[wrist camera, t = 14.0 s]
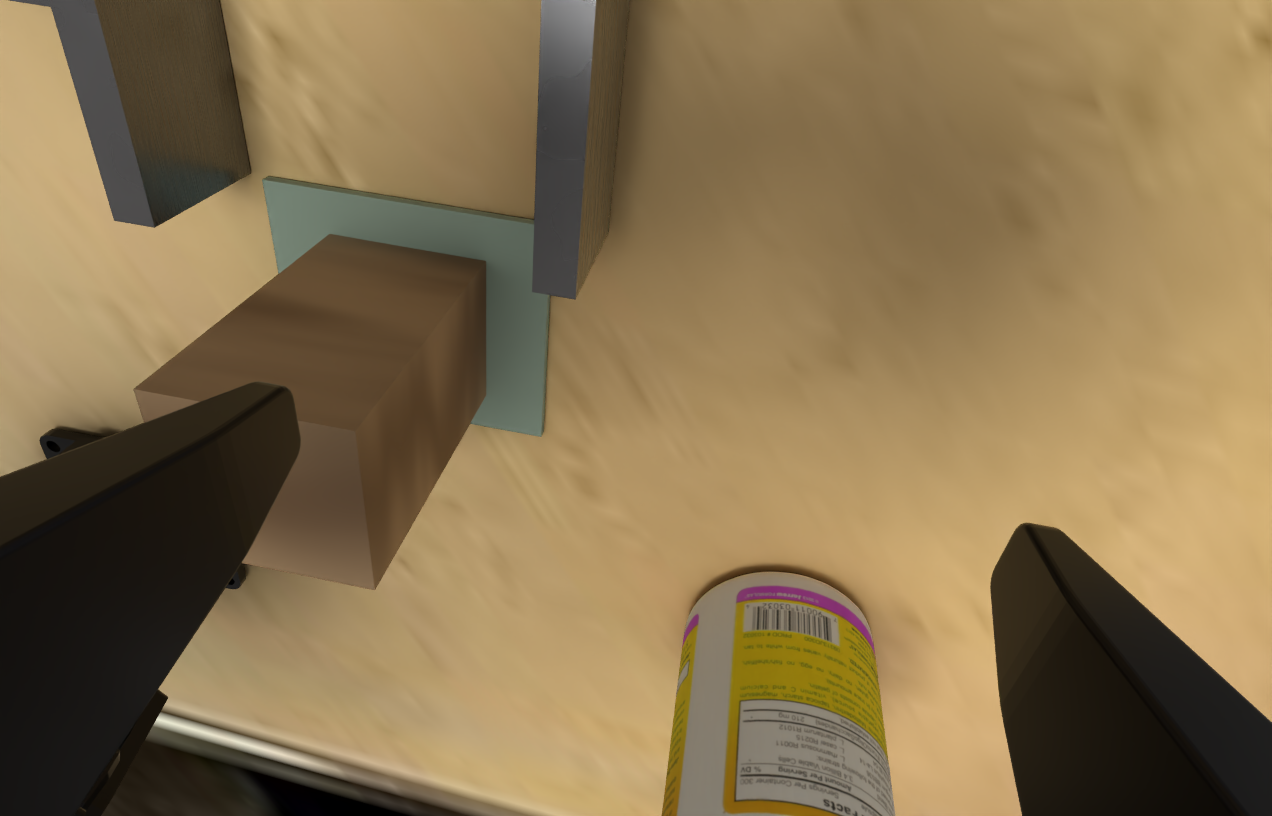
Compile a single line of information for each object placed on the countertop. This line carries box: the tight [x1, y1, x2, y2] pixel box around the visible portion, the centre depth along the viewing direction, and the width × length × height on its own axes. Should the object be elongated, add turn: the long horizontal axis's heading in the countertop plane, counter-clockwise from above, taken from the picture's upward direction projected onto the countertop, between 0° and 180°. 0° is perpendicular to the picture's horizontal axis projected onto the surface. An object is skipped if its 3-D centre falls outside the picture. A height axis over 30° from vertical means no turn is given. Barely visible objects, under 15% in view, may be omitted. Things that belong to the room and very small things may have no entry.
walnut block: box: [134, 234, 486, 590], centre depth 20 cm, size 4×4×8 cm
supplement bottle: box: [662, 572, 895, 816], centre depth 23 cm, size 7×7×13 cm
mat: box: [262, 176, 550, 437], centre depth 23 cm, size 7×8×1 cm
